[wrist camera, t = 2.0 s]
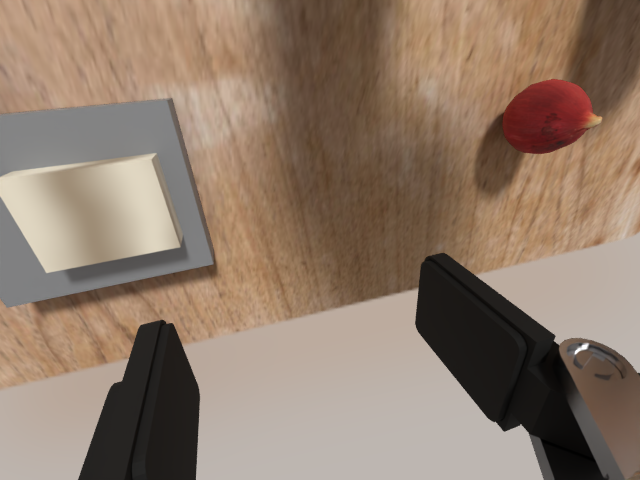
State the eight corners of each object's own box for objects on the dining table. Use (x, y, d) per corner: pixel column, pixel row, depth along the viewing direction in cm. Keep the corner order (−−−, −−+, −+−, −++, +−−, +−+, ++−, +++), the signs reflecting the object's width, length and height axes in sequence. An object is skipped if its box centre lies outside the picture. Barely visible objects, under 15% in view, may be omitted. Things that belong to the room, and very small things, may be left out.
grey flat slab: (171, 98, 21) (167, 100, 19) (213, 249, 27) (213, 264, 25) (-84, 121, 18) (-124, 127, 16) (25, 287, 24) (7, 307, 22)
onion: (505, 155, 31) (585, 176, 25) (471, 127, 29) (550, 142, 22) (544, 101, 30) (641, 107, 23) (511, 66, 27) (609, 61, 20)
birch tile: (156, 153, 20) (151, 159, 18) (183, 234, 23) (180, 247, 21) (11, 171, 18) (-9, 180, 17) (60, 257, 21) (46, 273, 19)
